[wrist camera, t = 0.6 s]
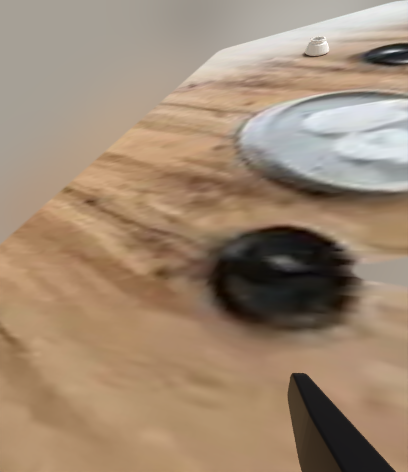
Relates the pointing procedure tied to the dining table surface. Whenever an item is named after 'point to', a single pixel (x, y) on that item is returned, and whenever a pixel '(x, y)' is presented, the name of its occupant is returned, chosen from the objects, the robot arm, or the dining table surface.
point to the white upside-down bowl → (317, 47)
